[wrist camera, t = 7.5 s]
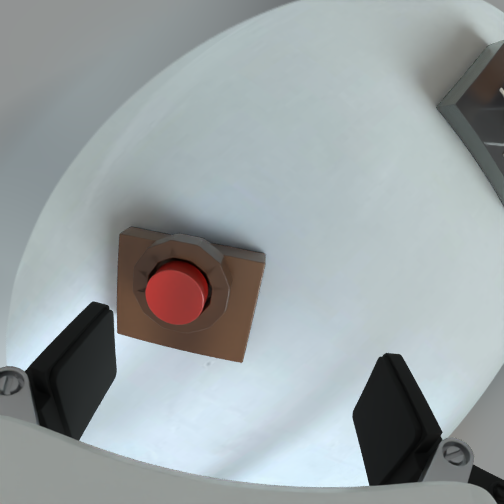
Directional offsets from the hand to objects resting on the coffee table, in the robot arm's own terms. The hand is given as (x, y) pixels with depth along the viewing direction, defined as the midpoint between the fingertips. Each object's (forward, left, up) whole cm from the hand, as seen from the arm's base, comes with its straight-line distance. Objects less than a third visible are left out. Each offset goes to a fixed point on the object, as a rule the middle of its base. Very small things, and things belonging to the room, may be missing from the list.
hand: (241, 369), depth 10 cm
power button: (-5, -3, -12) cm, 13 cm away
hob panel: (+19, +15, -15) cm, 29 cm away
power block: (-5, -5, -15) cm, 17 cm away
